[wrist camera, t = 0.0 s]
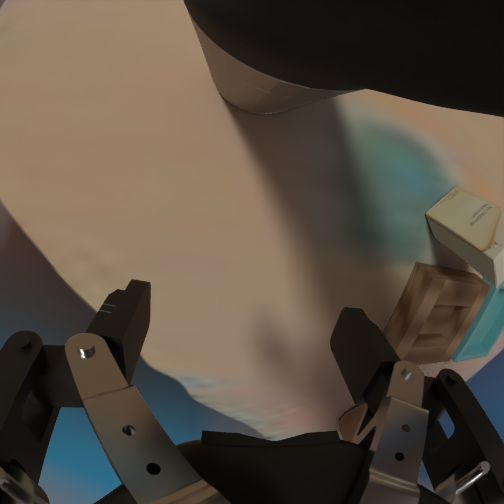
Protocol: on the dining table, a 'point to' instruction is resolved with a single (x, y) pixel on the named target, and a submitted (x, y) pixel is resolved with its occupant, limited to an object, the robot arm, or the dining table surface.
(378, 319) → the dining table surface
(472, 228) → the skincare box
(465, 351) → the tray
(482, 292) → the wooden square frame
